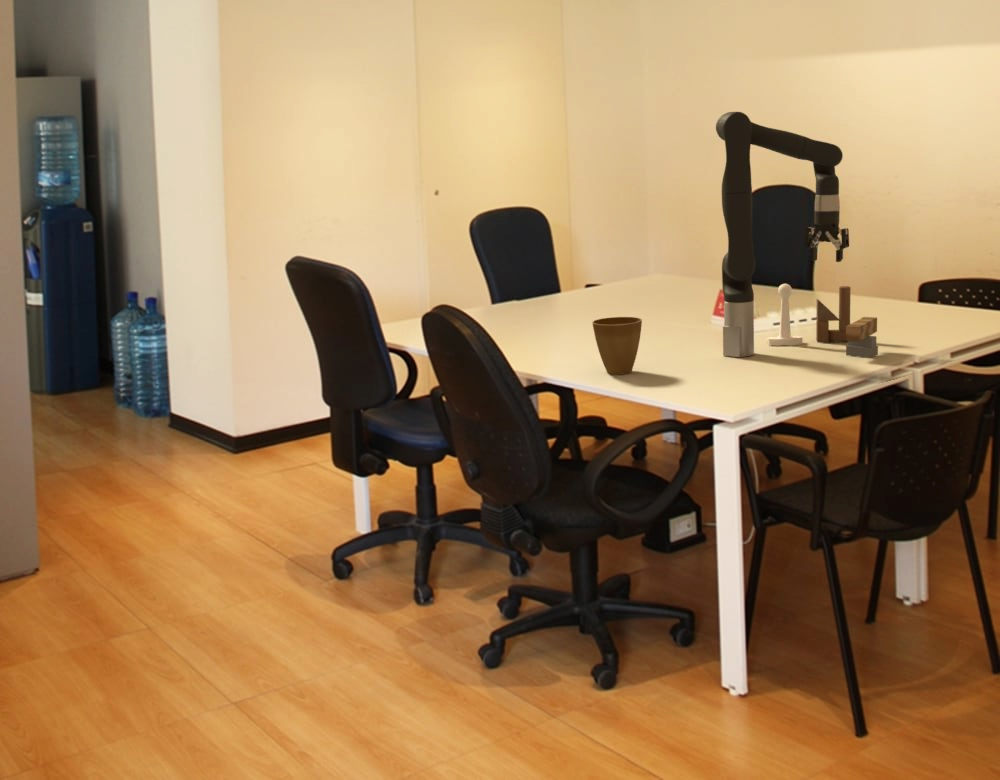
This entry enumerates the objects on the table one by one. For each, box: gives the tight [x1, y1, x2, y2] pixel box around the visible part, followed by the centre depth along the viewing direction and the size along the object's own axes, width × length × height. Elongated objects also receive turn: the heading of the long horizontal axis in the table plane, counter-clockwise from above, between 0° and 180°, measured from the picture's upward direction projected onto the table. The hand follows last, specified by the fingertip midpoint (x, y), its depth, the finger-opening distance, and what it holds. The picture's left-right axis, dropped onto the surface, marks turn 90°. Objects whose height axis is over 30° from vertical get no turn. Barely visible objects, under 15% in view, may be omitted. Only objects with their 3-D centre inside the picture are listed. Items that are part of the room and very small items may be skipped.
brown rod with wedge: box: [815, 285, 852, 343], centre depth 408 cm, size 4×11×18 cm, turn 82°
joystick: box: [766, 283, 803, 346], centre depth 408 cm, size 11×8×20 cm
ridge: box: [845, 335, 879, 359], centre depth 385 cm, size 5×8×6 cm, turn 45°
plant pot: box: [591, 316, 643, 375], centre depth 377 cm, size 15×15×16 cm
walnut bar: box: [846, 316, 878, 342], centre depth 384 cm, size 18×4×4 cm, turn 146°
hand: (826, 261), depth 393 cm, fingers open, 8 cm apart
